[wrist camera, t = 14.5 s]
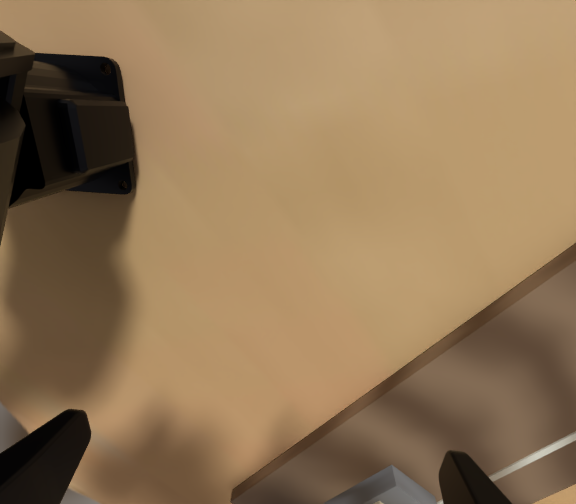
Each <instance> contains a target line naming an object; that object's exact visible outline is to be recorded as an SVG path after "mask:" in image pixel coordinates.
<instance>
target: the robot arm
mask: <svg viewBox="0 0 576 504" xmlns="http://www.w3.org/2000/svg"><path fill="white" fill-rule="evenodd" d="M107 64H108V65H109V66H110V68H111V73H110V74H109V75H108V74H107V73H106V71H105V66H106V65H107ZM133 158H134V148H133V140H132V132H131V125H130V117H129V109H128V106H127V105H126V104H125V101H124V93H123V86H122V78H121V71H120V67H119V65H118V64H117V62H116V61H114V60H113V59H110V58H107V57H99V56H81V55H62V54H44V53H34V52H33V51H31V50H30V49H28V48H26V47H25V46H23V45H21V44H19V43H18V42H16V41H15V40H14V39H12V38H11V37H9V36H8V35H6V34H5V33H3V32H2V31H0V245H1V240H2V235H3V231H4V226H5V221H6V216H7V212H8V208H11V207H14V206H18V205H21V204H24V203H27V202H30V201H33V200H36V199H39V198H42V197H45V196H48V195H51V194H54V193H57V192H61V191H64V190H69V191H83V192H97V193H110V194H129V193H131V192H132V191H134V189H135V185H136V184H135V177H134V169H133V162H132V159H133ZM122 181H125V182H126V183H127V188H125V187H124V186H123V185H122ZM90 438H91V429H90V425H89V422H88V418H87V414H86V412H85V411H83V410H76V409H68V410H66V411H64V412H62V413H60V414H59V415H57V416H56V417H54V418H53V419H51V420H50V421H48V422H47V423H45V424H44V425H42V426H41V427H39V428H38V429H36V430H35V431H33V432H32V433H30V434H29V435H27V436H26V437H24V438H23V439H21V440H20V441H18V442H17V443H15V444H14V445H12V446H11V447H9V448H8V449H6V450H5V451H3V452H2V453H0V504H60V503H61V500H62V499H63V496H64V494H65V492H66V490H67V488H68V486H69V484H70V482H71V480H72V478H73V475H74V473H75V471H76V469H77V467H78V465H79V463H80V461H81V459H82V457H83V454H84V452H85V450H86V448H87V446H88V444H89V442H90ZM438 478H439V485H440V490H441V494H442V499H443V504H512V503H511V501H510V500H509V499H508V498H507V497H506V496H505V495H504V494H503V493H502V491H501V490H500V489H499V488H498V487H497V486H496V485H495V484H494V483H493V481H492V480H491V479H490V478H489V477H488V476H487V475H486V474H485V473H484V471H483V470H482V469H481V468H480V467H479V466H478V465H477V464H476V462H475V461H474V460H473V459H472V458H471V457H470V456H469V455H468V454H467V453H465V452H463V451H455V450H448V451H447V452H446V454H445V456H444V459H443V462H442V464H441V467H440V469H439V476H438Z"/></svg>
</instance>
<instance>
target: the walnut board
mask: <svg viewBox="0 0 576 504" xmlns="http://www.w3.org/2000/svg"><path fill="white" fill-rule="evenodd" d="M448 450H455V451H463V452H465V453H467V454H468V455H469V456H470V457H471V458H472V459H473V460H474V461H475V462H476V464H477V465H478V466H479V467H480V468H481V469H482V470H483V471H484V473H485V474H486V475H487V476H488V477H489V478H490V479H491V480H492V481H493V483H494V484H495V485H496V486H497V487H498V488H499V489H500V490H501V491H502V493H503V494H504V495H505V496H506V497H507V498H508V499H509V500H510V501H511V503H512V504H532V503H535V502H537V501H539V500H541V499H543V498H546V497H548V496H550V495H552V494H554V493H557V492H559V491H561V490H563V489H565V488H568V487H570V486H572V485H574V484H576V244H574V245H573V246H571V247H570V248H569V249H567V250H566V251H564V252H563V253H562V254H560V255H559V256H558V257H556V258H555V259H553V260H552V261H551V262H549V263H548V264H546V265H545V266H544V267H542V268H541V269H539V270H538V271H537V272H535V273H534V274H532V275H531V276H530V277H528V278H527V279H525V280H524V281H523V282H521V283H520V284H519V285H517V286H516V287H514V288H513V289H512V290H510V291H509V292H507V293H506V294H505V295H503V296H502V297H500V298H499V299H498V300H496V301H495V302H493V303H492V304H491V305H489V306H488V307H486V308H485V309H484V310H482V311H481V312H480V313H478V314H477V315H475V316H474V317H473V318H471V319H470V320H468V321H467V322H466V323H464V324H463V325H461V326H460V327H459V328H457V329H456V330H454V331H453V332H452V333H450V334H449V335H447V336H446V337H445V338H443V339H442V340H441V341H439V342H438V343H436V344H435V345H434V346H432V347H431V348H429V349H428V350H427V351H425V352H424V353H422V354H421V355H420V356H418V357H417V358H415V359H414V360H413V361H411V362H410V363H409V364H407V365H406V366H404V367H403V368H402V369H400V370H399V371H397V372H396V373H395V374H393V375H392V376H390V377H389V378H388V379H386V380H385V381H383V382H382V383H381V384H379V385H378V386H376V387H375V388H374V389H372V390H371V391H370V392H368V393H367V394H365V395H364V396H363V397H361V398H360V399H358V400H357V401H356V402H354V403H353V404H351V405H350V406H349V407H347V408H346V409H344V410H343V411H342V412H340V413H339V414H337V415H336V416H335V417H333V418H332V419H331V420H329V421H328V422H326V423H325V424H324V425H322V426H321V427H319V428H318V429H317V430H315V431H314V432H312V433H311V434H310V435H308V436H307V437H305V438H304V439H303V440H301V441H300V442H298V443H297V444H296V445H294V446H293V447H292V448H290V449H289V450H287V451H286V452H285V453H283V454H282V455H280V456H279V457H278V458H276V459H275V460H273V461H272V462H271V463H269V464H268V465H266V466H265V467H264V468H262V469H261V470H260V471H258V472H257V473H255V474H254V475H253V476H251V477H250V478H248V479H247V480H246V481H244V482H243V483H241V484H240V485H239V486H237V487H236V488H234V489H233V492H232V497H231V501H230V502H231V503H233V504H323V503H325V502H327V501H328V500H330V499H332V498H334V497H335V496H337V495H339V494H341V493H342V492H344V491H346V490H348V489H349V488H351V487H353V486H355V485H357V484H358V483H360V482H362V481H364V480H365V479H367V478H369V477H371V476H372V475H374V474H376V473H378V472H380V471H381V470H383V469H385V468H387V467H388V466H390V465H393V466H394V467H396V468H397V469H398V470H400V471H401V472H402V473H404V474H405V475H406V476H408V477H409V478H410V479H412V480H413V481H415V482H416V483H417V484H419V485H420V486H421V487H423V488H424V489H425V490H427V491H428V492H429V493H431V494H432V495H434V496H435V499H436V502H437V504H443V499H442V494H441V490H440V485H439V478H438V476H439V469H440V467H441V464H442V462H443V459H444V456H445V454H446V452H447V451H448Z"/></svg>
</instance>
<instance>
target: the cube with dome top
mask: <svg viewBox="0 0 576 504" xmlns="http://www.w3.org/2000/svg"><path fill="white" fill-rule="evenodd" d="M323 504H437V502H436V499H435V496H434V495H432V494H431V493H429V492H428V491H427V490H425V489H424V488H423V487H421V486H420V485H419V484H417V483H416V482H415V481H413V480H412V479H410V478H409V477H408V476H406V475H405V474H404V473H402V472H401V471H400V470H398V469H397V468H396V467H394V466H393V465H390V466H388V467H387V468H385V469H383V470H381V471H380V472H378V473H376V474H374V475H372V476H371V477H369V478H367V479H365V480H364V481H362V482H360V483H358V484H357V485H355V486H353V487H351V488H349V489H348V490H346V491H344V492H342V493H341V494H339V495H337V496H335V497H334V498H332V499H330V500H328V501H327V502H325V503H323Z"/></svg>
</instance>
